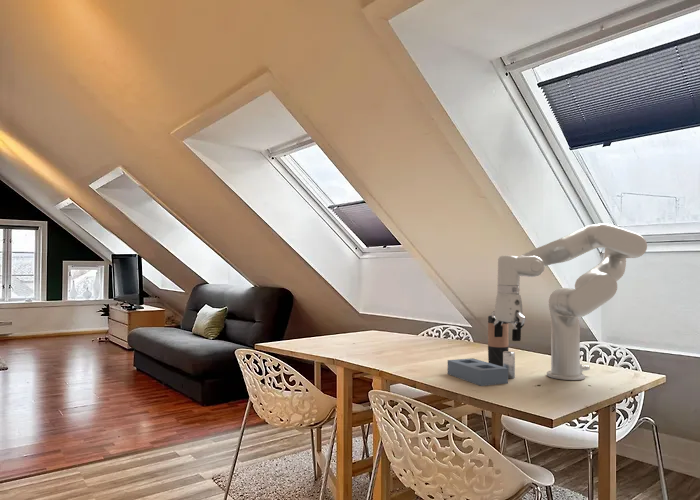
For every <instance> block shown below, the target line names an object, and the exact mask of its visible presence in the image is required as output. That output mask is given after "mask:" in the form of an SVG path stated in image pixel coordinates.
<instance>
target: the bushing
mask: <svg viewBox="0 0 700 500" xmlns="http://www.w3.org/2000/svg"><path fill="white" fill-rule="evenodd" d="M503 367H505V368H508V380H515V379H514V378H516V352H515V351H510V350H508V351H504V352H503Z"/></svg>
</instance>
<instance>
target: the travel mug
mask: <svg viewBox="0 0 700 500" xmlns="http://www.w3.org/2000/svg"><path fill="white" fill-rule="evenodd" d="M487 320H488V321H487V322H488V323H487V355H488V356H487V357H488V358H487V359H488V363H491V364H495V365H498V366H502V367H503V352H504V351H509V346H510V345H509V323H506V322H503V323H502V325H501V326H503V336H502V337H495V336H494V329H495V326H494V322H493V321H492V316H491V315H488V316H487Z"/></svg>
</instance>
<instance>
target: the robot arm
mask: <svg viewBox="0 0 700 500" xmlns="http://www.w3.org/2000/svg"><path fill="white" fill-rule="evenodd" d="M597 248H599V249H601V248H604V256H603V259H602V261H600V262H599V263H598V264H597V265H595V266H593V267H592V268H590V270H588V271H586V272H585V273H583V274H581V275H580V276H579V277H578V278H577V279H576V280H575V284H574V288H569V287H560V288H556V289H554V290H553V291H552V293H550V295H549V297H548V309H549V310H548V311H549V315H550V338H551V339H550V348H551V349H550V352H551V353H550V354H551V355H550V356H551V357H550V360H551V361H550V362H551V363H550V364H551V365H550V366H551V367H550V370H548V371H546V376H547V377H549V378H552V379H557V380H563V381H580V380H581V381H582V380H584V379H586V377H585V376H586V374H584V373H583V372H584V371H589V370H591V366H590V365H589V364H582V363H581V351H580V349H581V348H580V347H581V344H580V343H581V342H580V341H581V340H580V337H581V335H580V334H581V327H580V320H579V318H582V317H585V316H587V315H590V314H591V313H592V312H594V311H595V310H597V309H599V308H600V307H601V306H603V305H604V304H606V303H607V302H609V301H610V300H612V299H613V297H614V296H615V295H616V294H617V290H618V281H619V280H620V279H621V278H622V277H623V276H624V275H625V271H626V268H627V267H626V266H627V259H636V258H640V257H642V256H643V255H644V254H646V252H647V249H648V243H647V240H646V239H645V238H644V237H643V236H642V235H641V234H639V233H637V232H634V231H631V230H628V229H625V228H622V227H619V226H616V225H613V224H609V223H604V222H603V223H596V224H590V225H586V226H583V227H582V228H580V229H577V230H575V231H574V232H571V233H569V234H567V235H565V236H563V237H560V238H559V239H556V240H553V241H551V242H549V243H546V244H544V245H541V246H539V247H536V248H533V249H531V250H529V251H528V252H525V253H523V254H521V255H519V256H517V255H501V256H499V257H498V259H497V284H496V285H497V290H496V291H497V292H496V297H495V298H496V299H495V305H494V311H492V312H491V313H490V316H492V321H493V322H494V326H495V329H494V336H495V337H502V336H503V326H501V325H502V323H503V322H506V323H508V324H511V326H512V327H513V329H512V332H511V333H512V335H511V336H512V337H511V341H512V342H520V341H521V337H522V336H521V335H522V329H523V327H524V325H525V322H526V320H527V319H526V317H525V315H523V302H522V297H521V294H520V291H521V289H520V282H521V281H520V279H521V277H527V278H536V277H539V276H541V275H542V274H544V272H545V268H546V267H547V266H548V267H549V266H550V265H554V264H555V265H556V264H560V263H561V264H562V263H566V262H570V261H571V260H573V259H577V257H579V256H582V255H584V254H586V253H588V252H591V251H593V250H595V249H597Z"/></svg>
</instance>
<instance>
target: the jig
mask: <svg viewBox="0 0 700 500" xmlns="http://www.w3.org/2000/svg"><path fill="white" fill-rule="evenodd" d="M447 375H450V376H451V377H455V378H458V379H461V380H463V381H466V382H470V383H472V384H475V385H478V386H479V387H484V386H494V385H503V384H509V379H508V368H505V367H502V366H498V365H495V364H491V363H488V362H487V361H484V360H480V359H477V358H476V359H475V358H472V357H471V358H460V359H459V358H458V359H447Z"/></svg>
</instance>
